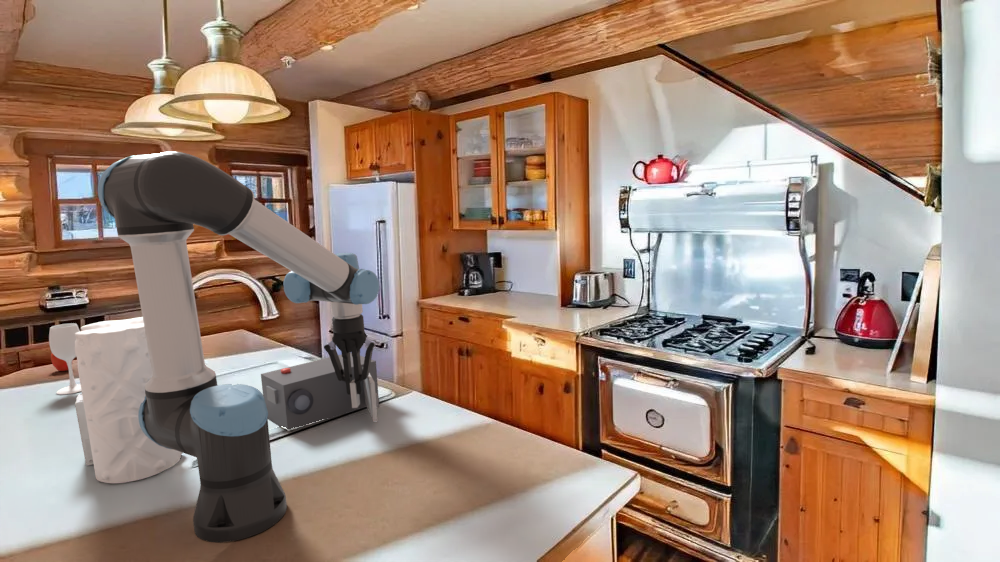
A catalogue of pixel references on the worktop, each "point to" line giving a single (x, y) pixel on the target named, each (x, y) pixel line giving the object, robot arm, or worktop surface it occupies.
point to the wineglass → (65, 351)
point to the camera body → (309, 392)
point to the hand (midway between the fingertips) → (356, 405)
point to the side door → (371, 397)
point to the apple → (59, 363)
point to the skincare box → (83, 430)
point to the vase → (118, 400)
